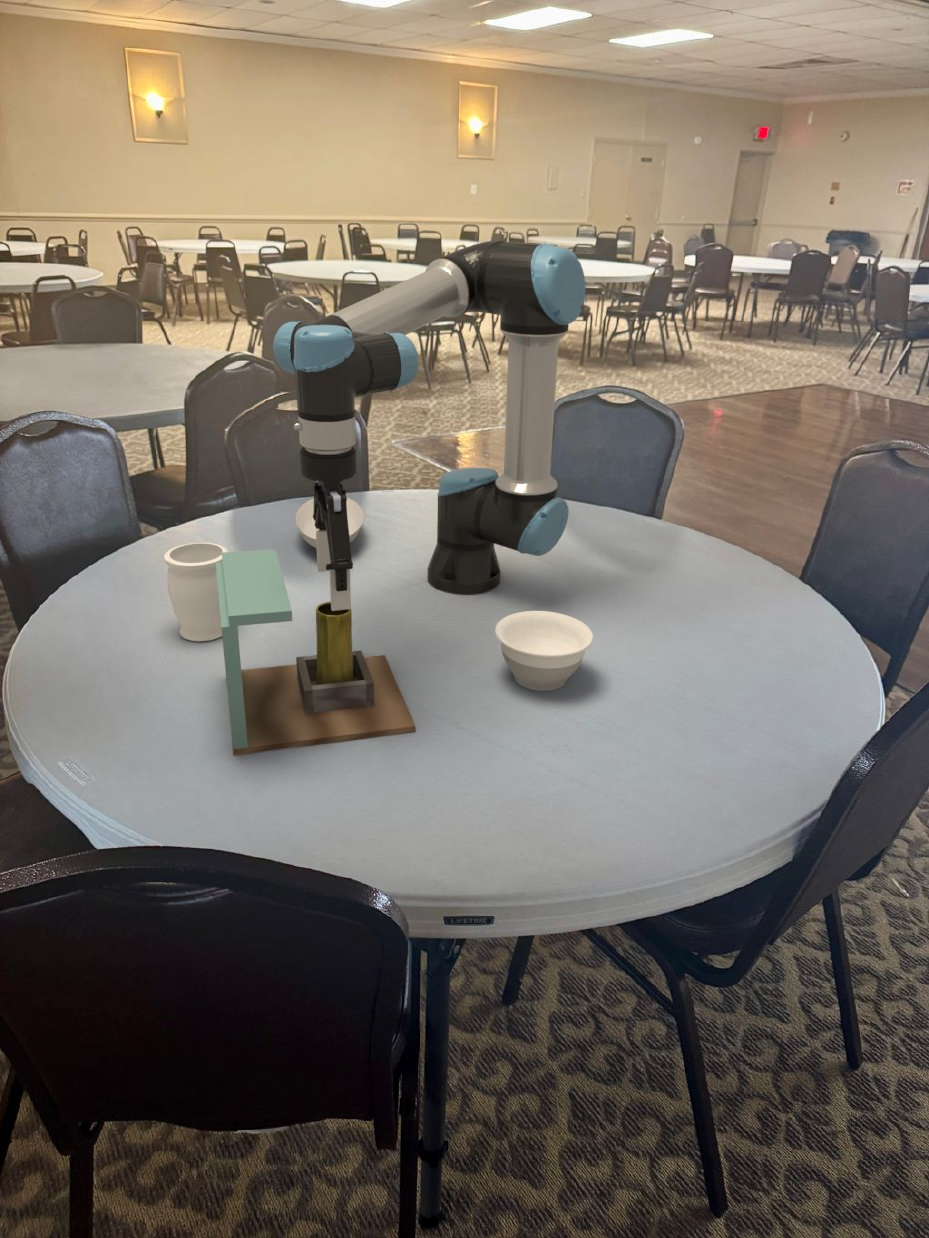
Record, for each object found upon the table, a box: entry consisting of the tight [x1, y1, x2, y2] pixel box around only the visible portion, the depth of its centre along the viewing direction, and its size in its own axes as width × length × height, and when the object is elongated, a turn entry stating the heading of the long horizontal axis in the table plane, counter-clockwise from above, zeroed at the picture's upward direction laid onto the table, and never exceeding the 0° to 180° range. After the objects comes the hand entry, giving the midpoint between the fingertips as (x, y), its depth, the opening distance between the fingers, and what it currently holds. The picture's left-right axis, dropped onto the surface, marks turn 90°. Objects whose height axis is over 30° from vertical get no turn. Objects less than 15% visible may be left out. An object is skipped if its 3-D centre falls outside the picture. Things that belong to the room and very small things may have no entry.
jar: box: [163, 542, 229, 642], centre depth 146 cm, size 11×10×15 cm
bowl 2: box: [494, 610, 594, 692], centre depth 138 cm, size 16×16×8 cm
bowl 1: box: [295, 497, 365, 549], centre depth 190 cm, size 30×15×6 cm, turn 6°
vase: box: [315, 601, 354, 685], centre depth 128 cm, size 6×6×14 cm
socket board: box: [232, 650, 416, 756], centre depth 129 cm, size 26×22×5 cm
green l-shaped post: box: [216, 548, 293, 750], centre depth 123 cm, size 9×22×20 cm, turn 17°
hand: (333, 588), depth 124 cm, fingers open, 13 cm apart
